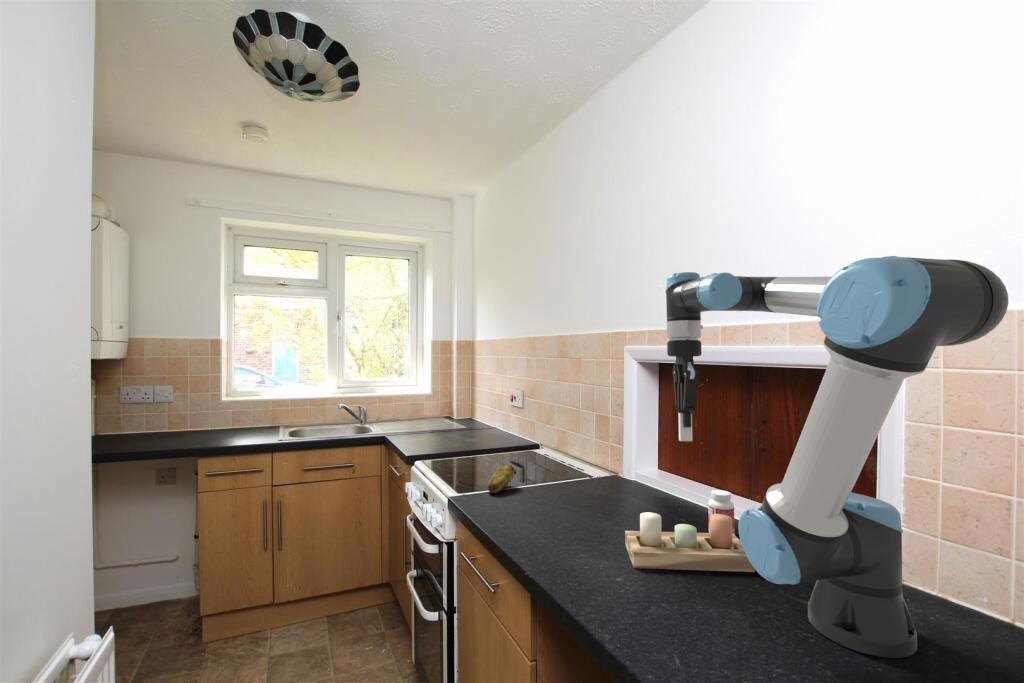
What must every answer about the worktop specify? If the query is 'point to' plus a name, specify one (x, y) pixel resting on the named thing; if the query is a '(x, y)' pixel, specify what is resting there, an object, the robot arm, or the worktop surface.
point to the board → (686, 554)
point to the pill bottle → (721, 505)
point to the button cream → (650, 529)
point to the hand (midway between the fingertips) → (685, 440)
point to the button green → (685, 536)
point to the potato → (500, 478)
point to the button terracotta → (721, 531)
